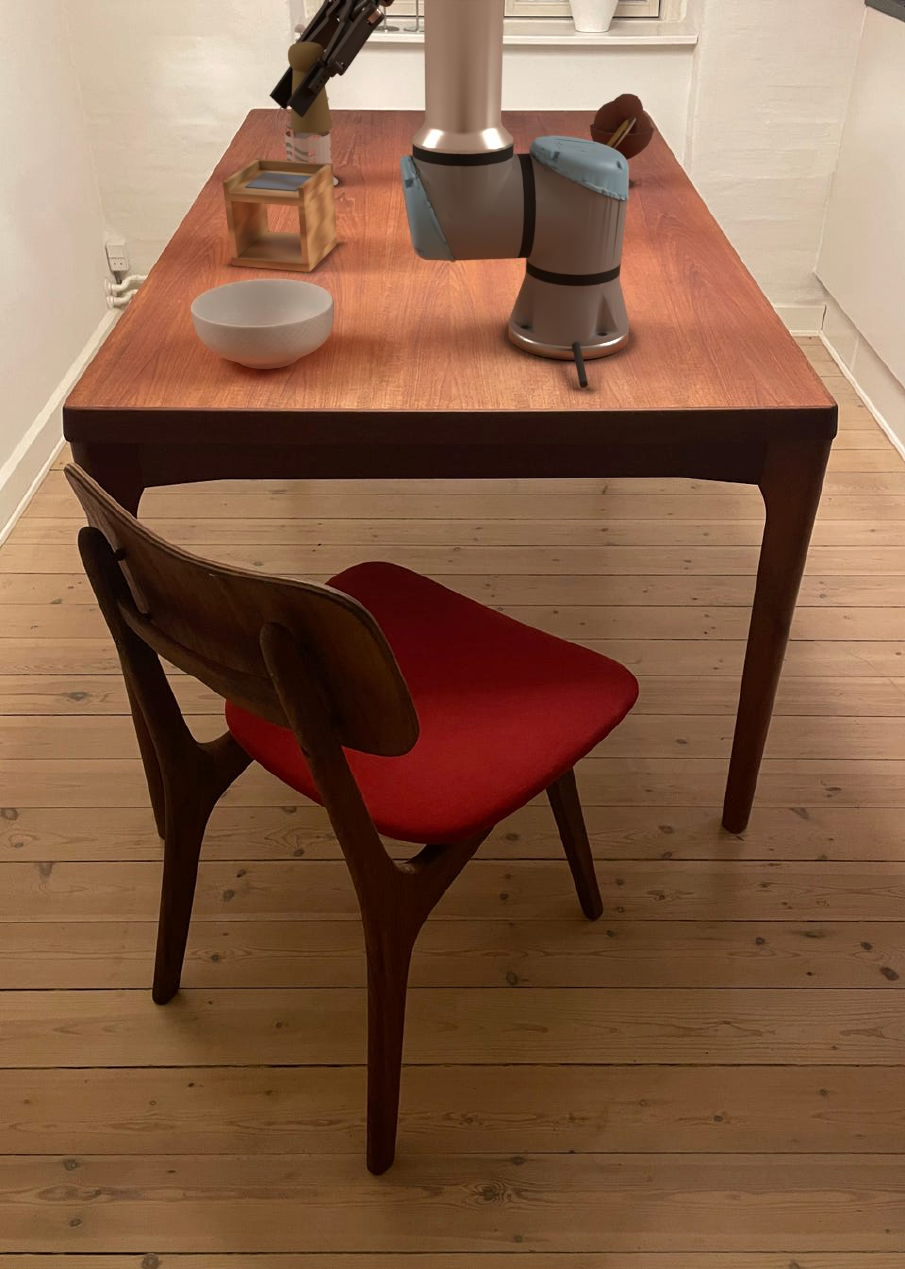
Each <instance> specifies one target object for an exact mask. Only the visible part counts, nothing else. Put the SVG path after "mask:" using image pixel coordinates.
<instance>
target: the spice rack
mask: <svg viewBox="0 0 905 1269" xmlns="http://www.w3.org/2000/svg"><path fill="white" fill-rule="evenodd" d="M315 162H316V161H312V162H311V161H308V162H300V161H287V159H285V160H282V159H270V158H258V157H257V158H255V159H253V160H252V161H250V162H249V163H248V164H246V165H245V166H243V167H241V168H240V169H239V170H238V171H236V172H235V173H233V174H232V175H230V176H229V177H227V178H226V179H224V180H223V181H222V189H223V198H224V207H225V216H226V224H227V233H228V241H229V252H230V260H231V266H236V267H246V268H247V267H248V268H257V269H258V268H259V269H270V270H279V271H280V270H281V271H290V272H302V273H310V272H311V271H312V270H313V269H314V268H315V267H316V266H317V265H318V264H319V263H320V262H322V260H323V259H324V258H326V256H327V255H328V254H329V253H330V252H331V251H332V250H333V249H334V248H335V247H337V245H338V237H337V236H338V234H337V218H336V198H335V185H334V181H333V176H334V166H333V163H331V164H329V163H315ZM267 205H276V206H277V205H278V206H289V207H297V209H298V210H297V211H298V221H299V222H298V223H299V233H297V232H286V231H275V230H274V231H273V230H270V226H269V216H268V215H269V214H268V207H267Z"/></svg>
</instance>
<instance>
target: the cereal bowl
mask: <svg viewBox="0 0 905 1269" xmlns="http://www.w3.org/2000/svg"><path fill="white" fill-rule="evenodd" d="M190 315H191V319H192V323H193V327H194V329H195V333H196V335H197V337H198V339H199V340H200V341H201V343H202V344H203V345H204V346H205V347H206V348H207V349H208V350H209V351H210V352H211V353H213V354H215V355H216V356H218V357H221V358H222V359H224V360H228V361H232V362H235V363H238V364H240V365H242V366H243V367H246V368H250V369H254V370H255V369H256V370H273V369H274V370H275V369H280V368H285V367H287V366H290V365H292V364H294V363H296V362H298V361H299V360H300V359H301V358H303V357H306V356H308V355H310V354H312V353H313V352H315V351H316V350H318V349H319V348H321V346H323V344H324V343H325V342H326V341H327V339H328V338H329V336H330V334H331V333H332V330H333V327H334V323H335V300H334V296H333V295H332V293H330V291H328V290H327V289H326V288H324V287H322V286H320V285H317V284H315V283H311V282H308V281H304V280H297V279H288V278H257V279H255V278H254V279H247V280H241V281H240V280H239V281H235V282H229V283H225V284H222V285H219V286H216V287H213V288H210V289H208V290H206V291H204V292H203V293H200V295H198V296H197V297H196V298H194V299H193V301H192V303H191V305H190Z"/></svg>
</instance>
